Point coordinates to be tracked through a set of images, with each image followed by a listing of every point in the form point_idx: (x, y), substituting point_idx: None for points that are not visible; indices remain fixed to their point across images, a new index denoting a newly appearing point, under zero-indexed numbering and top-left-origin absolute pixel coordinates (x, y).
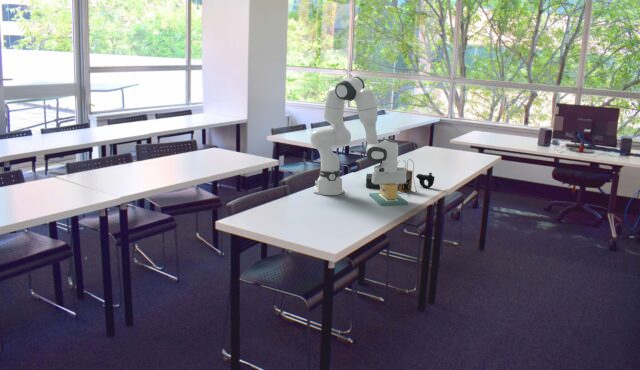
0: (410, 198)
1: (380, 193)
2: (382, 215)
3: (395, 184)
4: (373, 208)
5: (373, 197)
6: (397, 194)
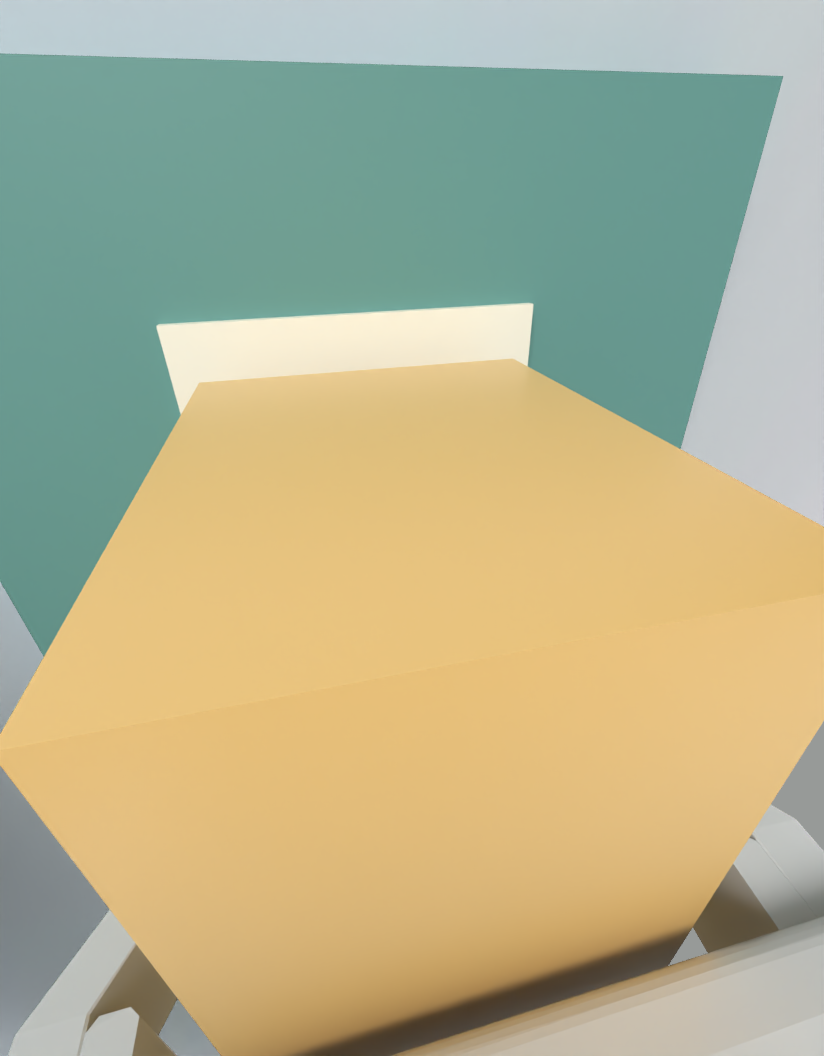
0: (796, 484)
1: (247, 196)
2: (173, 1032)
3: (710, 914)
4: (65, 933)
5: (5, 556)
6: (688, 378)
